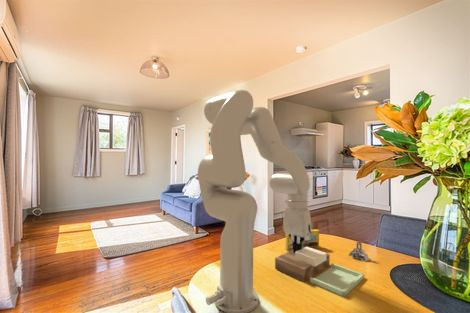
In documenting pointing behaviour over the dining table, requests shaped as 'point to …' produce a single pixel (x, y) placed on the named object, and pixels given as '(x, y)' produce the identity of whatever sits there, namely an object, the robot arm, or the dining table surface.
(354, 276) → the tray
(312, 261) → the tile
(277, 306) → the dining table surface
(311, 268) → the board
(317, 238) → the candy box
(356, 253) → the house of cards
